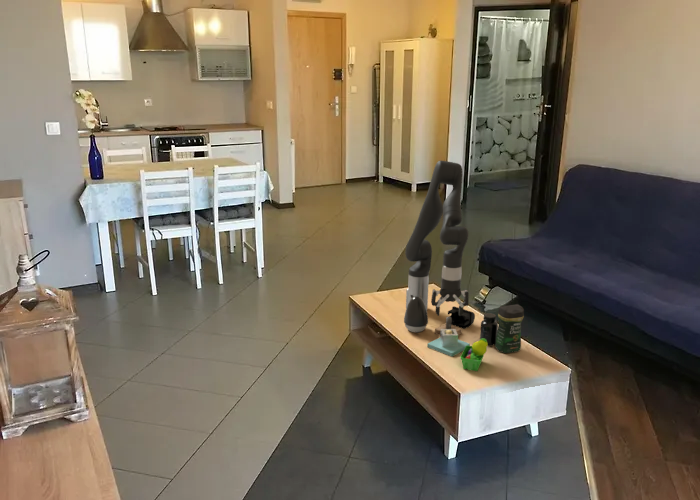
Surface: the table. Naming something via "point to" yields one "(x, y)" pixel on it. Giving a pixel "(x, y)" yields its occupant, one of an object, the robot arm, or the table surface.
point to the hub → (447, 350)
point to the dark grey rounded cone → (416, 315)
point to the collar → (449, 338)
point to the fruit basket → (474, 355)
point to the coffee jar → (509, 328)
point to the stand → (448, 327)
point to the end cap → (461, 318)
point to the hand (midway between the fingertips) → (448, 315)
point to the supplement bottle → (489, 328)
